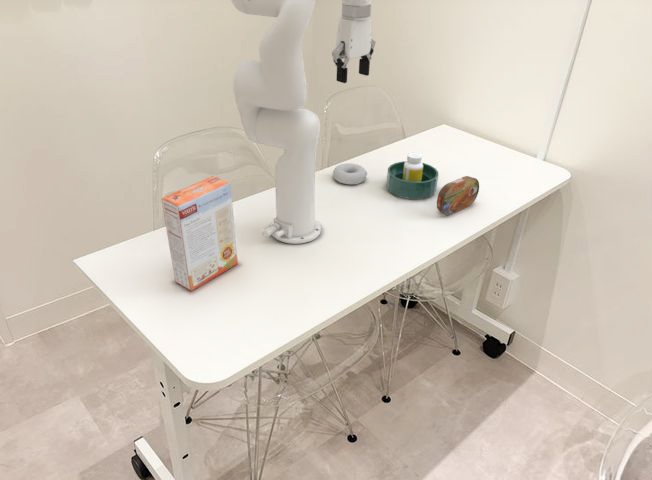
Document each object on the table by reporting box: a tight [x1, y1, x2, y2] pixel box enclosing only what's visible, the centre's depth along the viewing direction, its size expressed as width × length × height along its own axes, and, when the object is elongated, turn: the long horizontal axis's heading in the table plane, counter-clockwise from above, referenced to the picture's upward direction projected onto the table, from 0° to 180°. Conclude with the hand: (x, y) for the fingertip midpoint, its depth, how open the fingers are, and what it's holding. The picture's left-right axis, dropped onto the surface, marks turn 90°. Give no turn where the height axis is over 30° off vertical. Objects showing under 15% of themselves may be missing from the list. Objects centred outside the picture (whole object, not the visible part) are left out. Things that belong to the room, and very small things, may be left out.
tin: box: [436, 175, 480, 216], centre depth 157 cm, size 15×3×8 cm, turn 129°
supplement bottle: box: [402, 152, 424, 182], centre depth 165 cm, size 5×5×10 cm
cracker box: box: [161, 175, 238, 292], centre depth 125 cm, size 14×6×21 cm, turn 141°
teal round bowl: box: [386, 160, 439, 200], centre depth 167 cm, size 14×14×6 cm
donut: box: [332, 162, 368, 185], centre depth 172 cm, size 10×4×10 cm
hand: (352, 78), depth 160 cm, fingers open, 9 cm apart
